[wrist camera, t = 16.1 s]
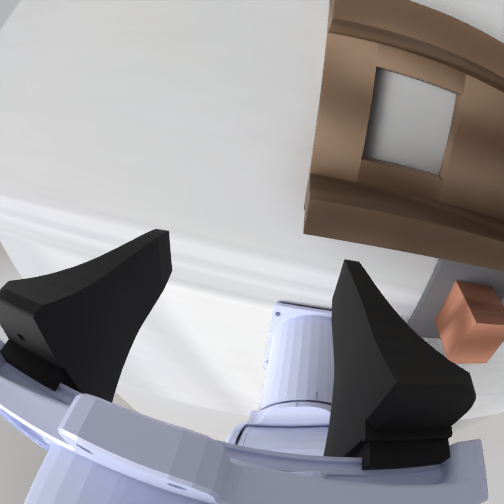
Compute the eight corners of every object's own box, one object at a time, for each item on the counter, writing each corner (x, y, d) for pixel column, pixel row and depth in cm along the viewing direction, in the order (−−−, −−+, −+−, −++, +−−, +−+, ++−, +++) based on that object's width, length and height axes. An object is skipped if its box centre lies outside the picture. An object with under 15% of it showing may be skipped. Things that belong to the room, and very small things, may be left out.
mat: (473, 336, 24) (474, 340, 23) (403, 330, 25) (404, 335, 24) (515, 266, 19) (517, 269, 18) (443, 249, 20) (445, 253, 19)
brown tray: (536, 256, 18) (563, 291, 13) (304, 203, 20) (301, 241, 16) (578, 117, 10) (616, 134, 6) (329, 0, 12) (336, -27, 8)
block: (470, 323, 22) (485, 363, 18) (434, 320, 23) (448, 363, 19) (491, 286, 20) (513, 325, 16) (455, 280, 20) (476, 323, 16)
